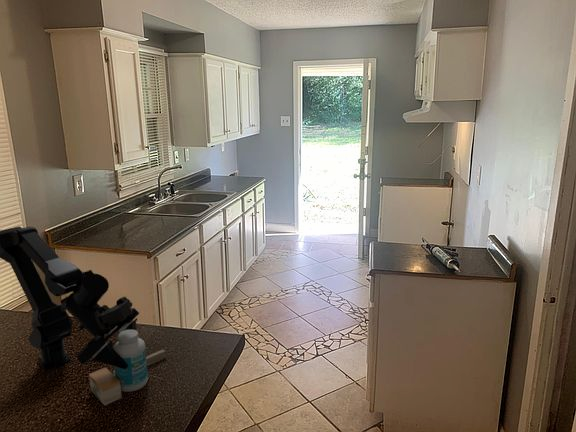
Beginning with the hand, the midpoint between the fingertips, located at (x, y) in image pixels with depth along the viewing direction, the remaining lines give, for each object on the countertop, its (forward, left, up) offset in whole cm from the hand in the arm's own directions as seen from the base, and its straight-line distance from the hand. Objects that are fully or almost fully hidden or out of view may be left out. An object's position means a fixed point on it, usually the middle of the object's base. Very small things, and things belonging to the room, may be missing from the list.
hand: (135, 358), depth 105 cm
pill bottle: (-1, -1, -7) cm, 7 cm away
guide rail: (-6, +4, -7) cm, 10 cm away
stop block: (-2, -7, -7) cm, 10 cm away
